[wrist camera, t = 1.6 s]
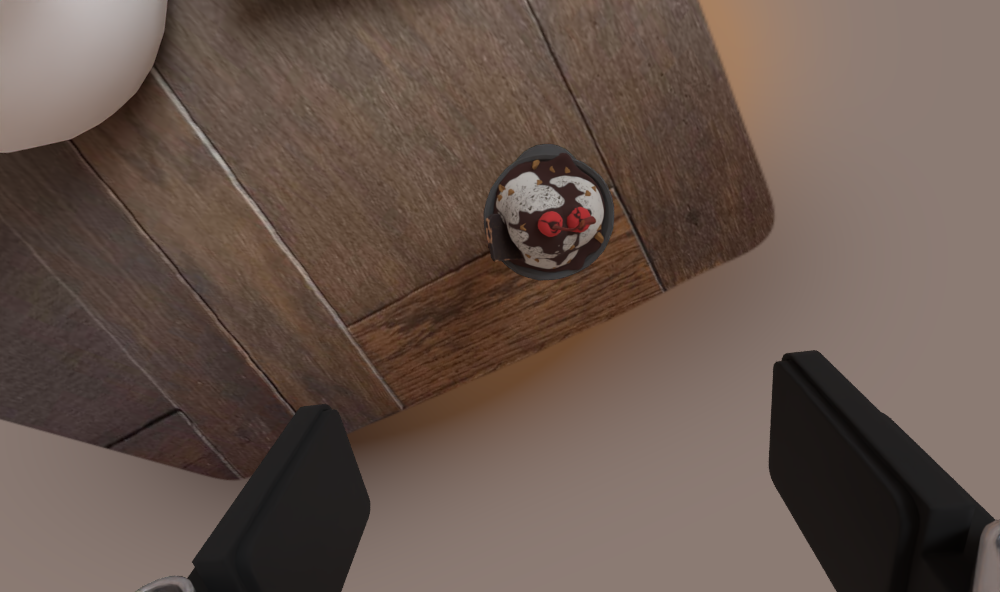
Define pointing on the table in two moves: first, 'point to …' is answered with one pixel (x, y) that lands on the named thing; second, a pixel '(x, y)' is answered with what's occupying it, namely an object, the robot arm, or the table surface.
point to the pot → (71, 64)
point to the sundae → (548, 214)
